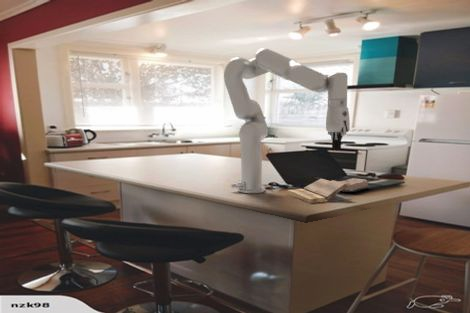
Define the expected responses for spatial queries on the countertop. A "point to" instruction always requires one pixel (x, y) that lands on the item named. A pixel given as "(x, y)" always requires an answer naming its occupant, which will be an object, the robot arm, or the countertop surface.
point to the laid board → (306, 196)
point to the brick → (354, 183)
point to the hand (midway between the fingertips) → (336, 149)
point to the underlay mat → (337, 198)
